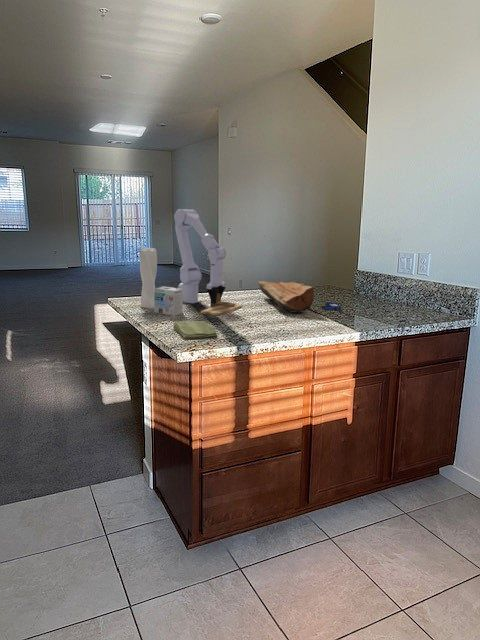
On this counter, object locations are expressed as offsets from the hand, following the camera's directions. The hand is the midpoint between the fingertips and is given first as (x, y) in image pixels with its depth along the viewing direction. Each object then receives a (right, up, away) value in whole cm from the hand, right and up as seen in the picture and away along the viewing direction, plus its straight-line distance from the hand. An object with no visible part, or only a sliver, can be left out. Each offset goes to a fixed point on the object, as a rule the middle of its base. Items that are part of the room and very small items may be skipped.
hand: (215, 302), depth 219 cm
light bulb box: (-19, -5, -18) cm, 27 cm away
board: (+3, -4, -8) cm, 9 cm away
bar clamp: (+58, -5, -2) cm, 58 cm away
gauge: (+4, -2, -1) cm, 4 cm away
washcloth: (-5, -13, -49) cm, 51 cm away
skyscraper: (-30, -2, -6) cm, 31 cm away
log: (+32, -2, +9) cm, 33 cm away
